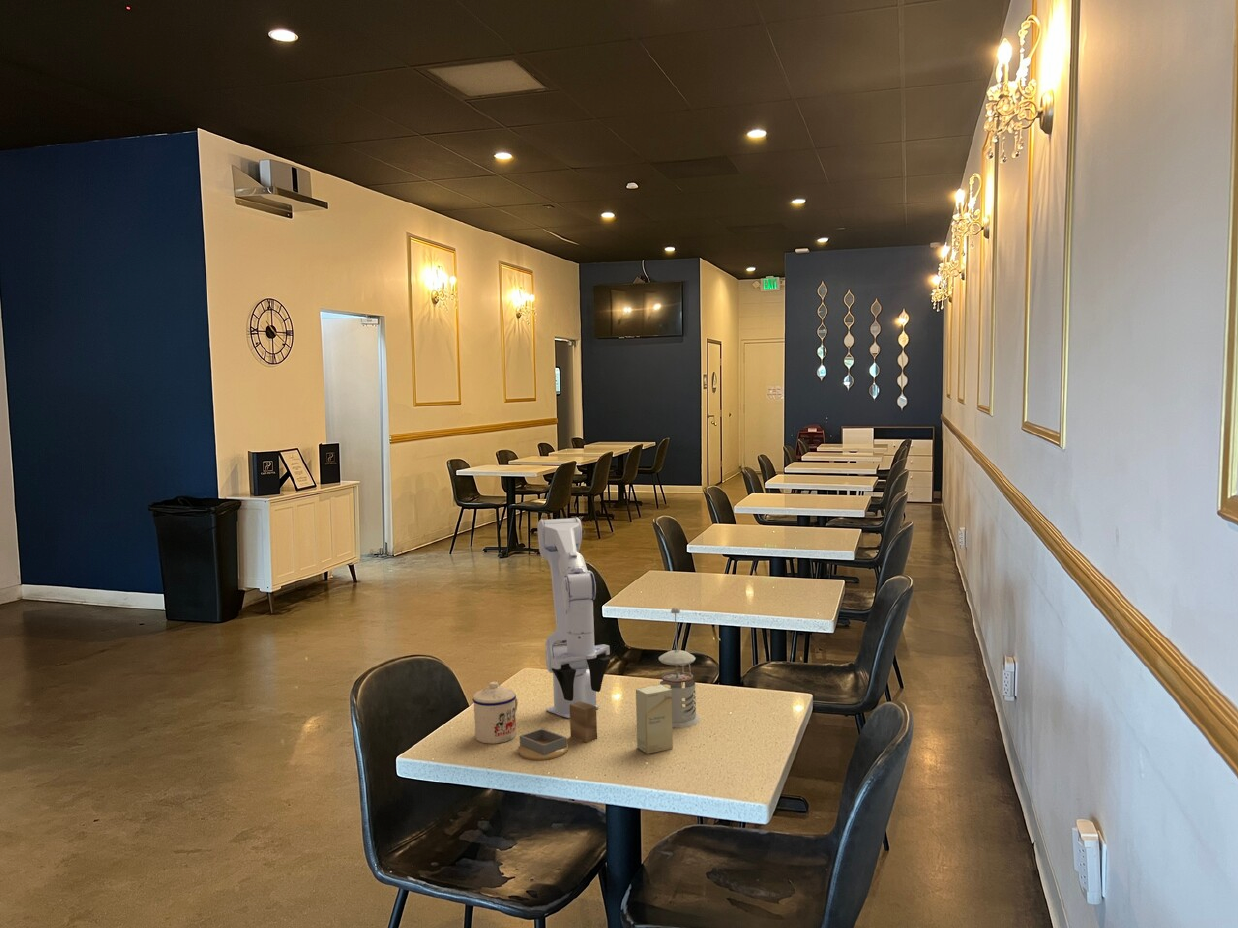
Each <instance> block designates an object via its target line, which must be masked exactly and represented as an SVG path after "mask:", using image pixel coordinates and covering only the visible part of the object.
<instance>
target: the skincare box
mask: <svg viewBox="0 0 1238 928" xmlns="http://www.w3.org/2000/svg"><path fill="white" fill-rule="evenodd" d="M669 688H670V687H667V686H665V685H660V684H658V685H651V686H646V687H641V688H635V699H636V700H635V706H636V707H635V709H636V746H637V748H638V749H639V750H640V751H642V752H644V753H646V754H652V753H658V752H663V751H668V750H672V749H673V748H674V742H673V741H674V738H673V727H672V690H671V689H669Z"/></svg>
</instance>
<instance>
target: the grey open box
mask: <svg viewBox="0 0 1238 928" xmlns="http://www.w3.org/2000/svg"><path fill="white" fill-rule="evenodd" d="M568 751H569V744H568V742H567V736H563V735H560V734H558V733H555V732H553V731H550V730H548V729H544V728H539V729H537V730H536V729H535V730H534V731H531V732H527V733H525V734H521V735H519V745H518V755H519V756H521V757H522V758H524V759H527V760H533V761H548V760H551V759H553V760H554V759H556V758H560V757H562V756H564V755H565V754H566V753H567V752H568Z"/></svg>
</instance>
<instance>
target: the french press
mask: <svg viewBox="0 0 1238 928" xmlns="http://www.w3.org/2000/svg"><path fill="white" fill-rule="evenodd" d="M670 612H671V613H672V614H674V622H675V625H674V626H675V650H673V649H672V650H669V651H667V652H665V653H663V654H661V655H660V656H658V658H657V659H658V661H659V662H660V663H661V664H664V665H668V666H676V670H675V671H669V672H665V673H663V674H661V676H660V678H661V681H660V682H659V685H664V686H665V685H667V686H670V687H668V688H669V689H671V690H672V728H689V727H692V726H696V725H698V724H699V723H700V722H701V720H702V718H701V717H700V716H699V715H698V714H697V704H696V703H697V702H696V699H697V698H696V697H697V696H696V694H697V693H696V682H695V681H694V680H693V679H694V677H695V676H694V674H692V673H691V671H692V670H691V664H692V663H694V662H695V660H696V657H695V655H693V654H691V653H690V652H688V651H685V650H678V642H677V641H678V638H677V635H678V634H677V632H678V631H677V614H680V613H681V611H680V608H679V607H677V606H676V607H675V606H674V607H672V608H671V610H670ZM687 665H688V667H689V672H687V671H685V669H684V667H686V666H687ZM679 666H680V667H682V671H678V668H679ZM683 685H684V688H683ZM683 699H684V700H683ZM683 705H685V706H683Z"/></svg>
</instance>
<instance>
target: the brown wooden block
mask: <svg viewBox="0 0 1238 928" xmlns="http://www.w3.org/2000/svg"><path fill="white" fill-rule="evenodd" d="M569 706H570V718H569V724H570V725H569V727H570V728H569V729H570V733H569V734H570V738H572V739H575V740H577V741H579V742H582V741H583V743H585V744H588V743H590V741H591V742H593V741H596V740H598V729H597V728H598V725H597V724H598V723H597V722H598V721H597V709H596V706H594V705H591V704H588V703H585V702H582V701H579V702H576V703H573V704H570V705H569ZM595 739H596V740H595ZM592 740H593V741H592ZM587 742H588V743H587Z"/></svg>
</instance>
